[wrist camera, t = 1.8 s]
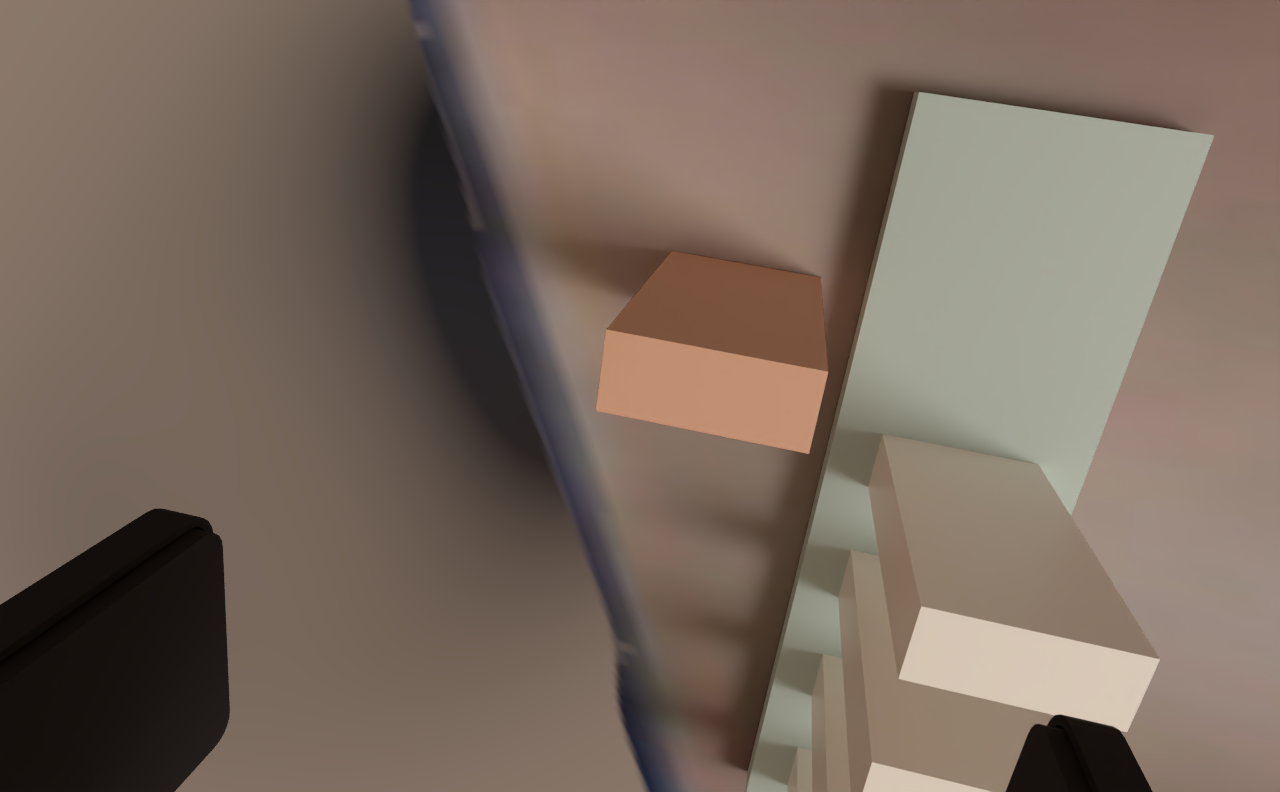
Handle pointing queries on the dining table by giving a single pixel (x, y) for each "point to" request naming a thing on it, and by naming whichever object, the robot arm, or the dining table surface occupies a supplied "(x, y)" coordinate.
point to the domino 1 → (720, 352)
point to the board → (982, 332)
